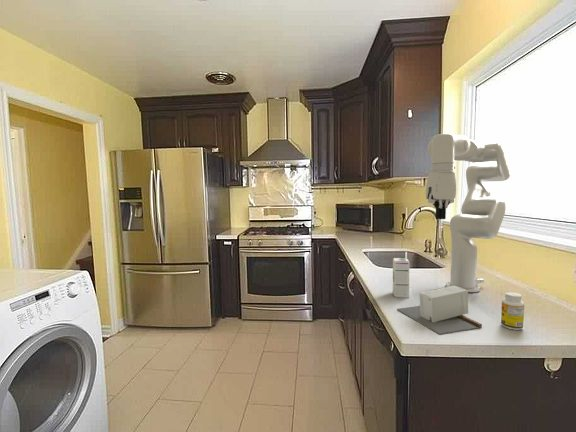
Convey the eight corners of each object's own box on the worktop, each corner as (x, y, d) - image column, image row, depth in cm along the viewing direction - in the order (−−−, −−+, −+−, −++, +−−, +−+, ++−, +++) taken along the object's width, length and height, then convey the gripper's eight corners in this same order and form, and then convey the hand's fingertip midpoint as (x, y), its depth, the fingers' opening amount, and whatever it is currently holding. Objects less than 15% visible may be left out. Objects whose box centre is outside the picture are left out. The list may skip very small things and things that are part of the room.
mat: (430, 305, 114) (430, 304, 114) (477, 328, 95) (477, 327, 95) (396, 309, 110) (396, 308, 110) (439, 334, 91) (439, 333, 91)
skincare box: (454, 285, 107) (418, 291, 103) (469, 290, 101) (432, 296, 97) (454, 308, 108) (418, 315, 103) (469, 315, 102) (432, 323, 98)
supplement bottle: (501, 321, 100) (503, 290, 99) (523, 326, 96) (525, 293, 95) (499, 327, 95) (501, 294, 95) (522, 332, 92) (524, 298, 91)
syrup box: (409, 298, 122) (410, 261, 121) (393, 297, 123) (394, 260, 122) (406, 293, 127) (407, 258, 126) (391, 292, 129) (392, 257, 127)
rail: (433, 305, 114) (433, 301, 114) (481, 327, 95) (481, 324, 95) (431, 305, 114) (431, 302, 114) (479, 328, 95) (479, 324, 95)
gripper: (450, 170, 120) (449, 217, 122) (418, 169, 116) (416, 218, 117) (467, 168, 113) (464, 219, 114) (432, 167, 109) (431, 220, 110)
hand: (440, 218), depth 116 cm, fingers closed
